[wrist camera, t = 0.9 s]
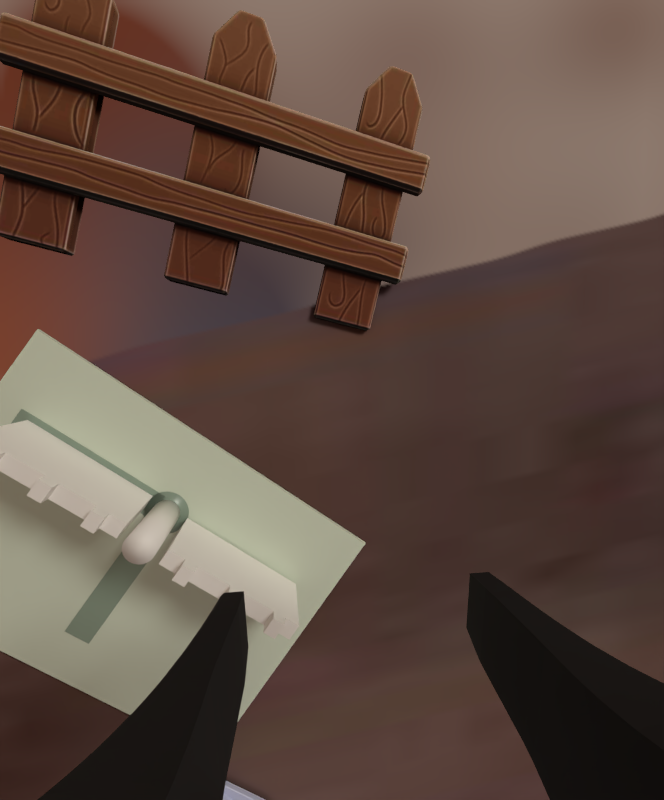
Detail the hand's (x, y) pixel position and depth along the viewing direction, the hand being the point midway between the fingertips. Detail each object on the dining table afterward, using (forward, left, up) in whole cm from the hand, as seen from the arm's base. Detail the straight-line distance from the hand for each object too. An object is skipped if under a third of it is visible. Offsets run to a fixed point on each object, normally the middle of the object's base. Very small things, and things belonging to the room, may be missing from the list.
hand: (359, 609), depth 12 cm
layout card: (-10, +7, -13) cm, 17 cm away
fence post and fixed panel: (-6, +11, -13) cm, 18 cm away
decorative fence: (+12, +16, -14) cm, 24 cm away
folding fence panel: (-6, +2, -12) cm, 14 cm away
